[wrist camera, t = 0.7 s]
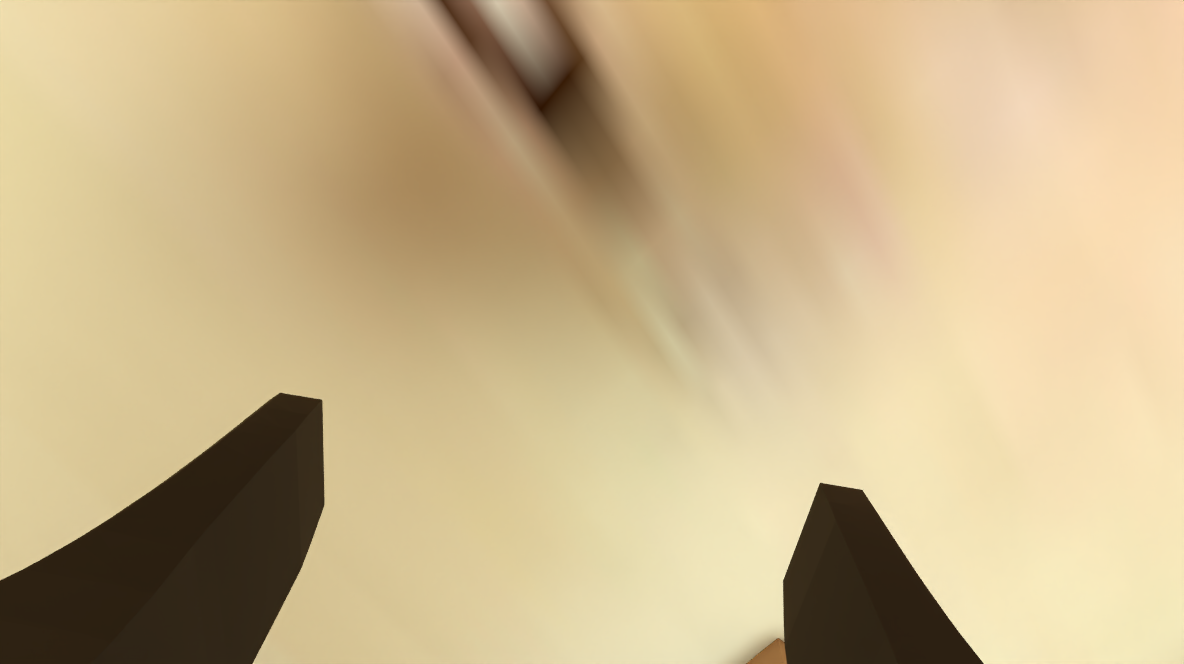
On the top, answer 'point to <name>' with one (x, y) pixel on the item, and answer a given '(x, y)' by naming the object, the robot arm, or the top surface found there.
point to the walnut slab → (771, 654)
